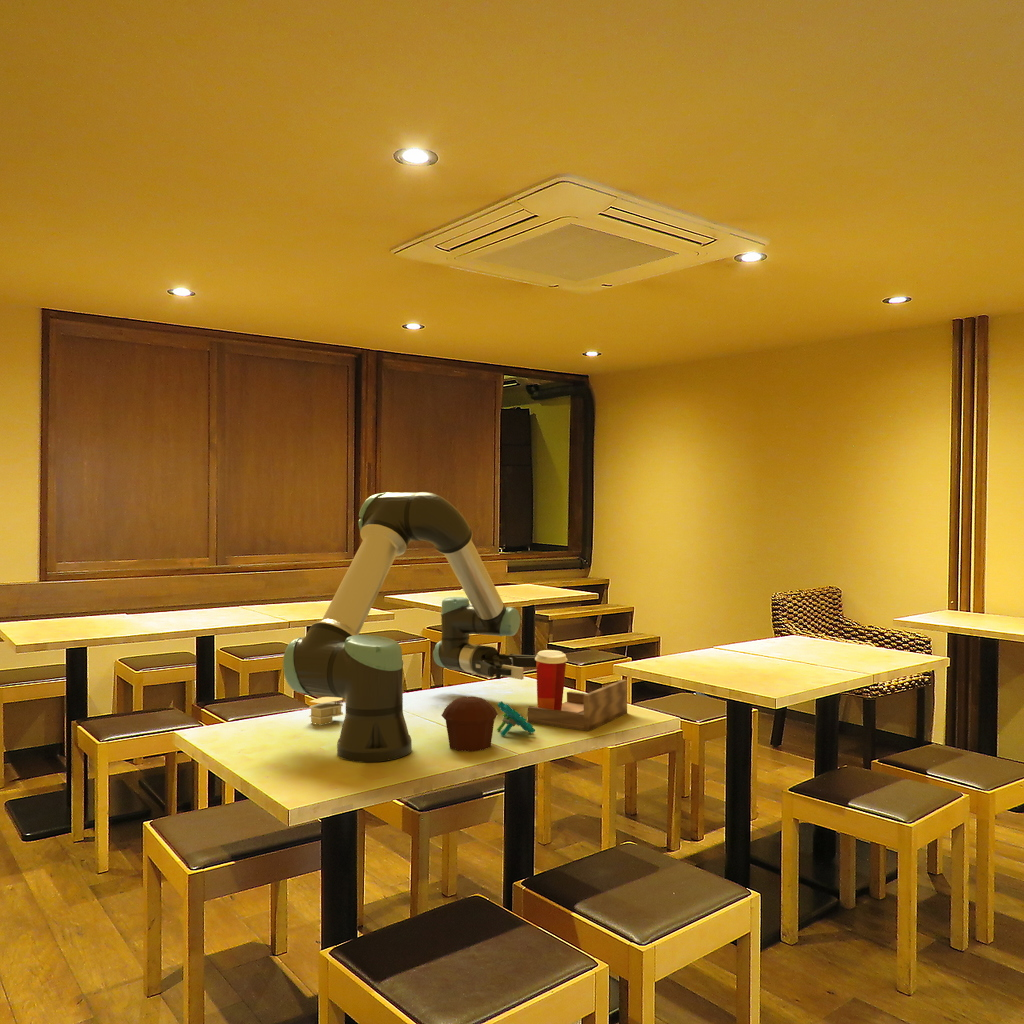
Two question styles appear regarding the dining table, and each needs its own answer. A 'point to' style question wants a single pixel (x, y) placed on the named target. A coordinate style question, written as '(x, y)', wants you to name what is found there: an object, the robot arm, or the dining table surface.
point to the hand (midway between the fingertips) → (541, 669)
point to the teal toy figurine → (512, 719)
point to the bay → (585, 708)
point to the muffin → (469, 723)
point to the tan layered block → (325, 709)
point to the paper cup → (550, 678)
